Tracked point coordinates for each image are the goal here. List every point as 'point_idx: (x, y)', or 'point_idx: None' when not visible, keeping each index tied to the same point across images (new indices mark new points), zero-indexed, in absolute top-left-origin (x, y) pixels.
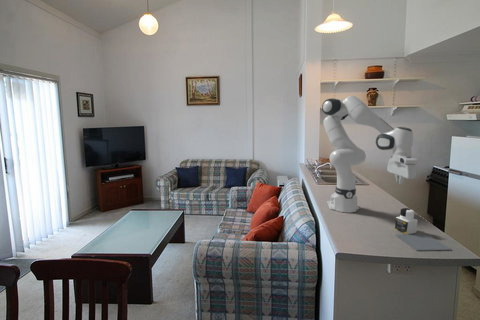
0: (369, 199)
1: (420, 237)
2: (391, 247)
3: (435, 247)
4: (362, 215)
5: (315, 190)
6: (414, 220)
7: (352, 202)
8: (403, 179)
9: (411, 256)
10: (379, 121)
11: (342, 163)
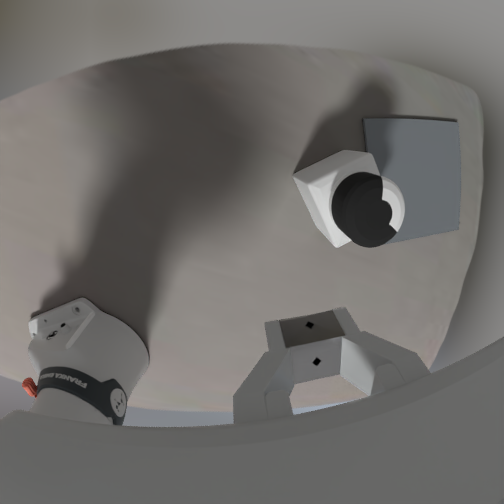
0: None
1: (394, 164)
2: (433, 285)
3: (451, 163)
4: (158, 306)
5: None
6: (379, 174)
7: (117, 362)
8: (388, 346)
9: (470, 254)
10: None
11: None
